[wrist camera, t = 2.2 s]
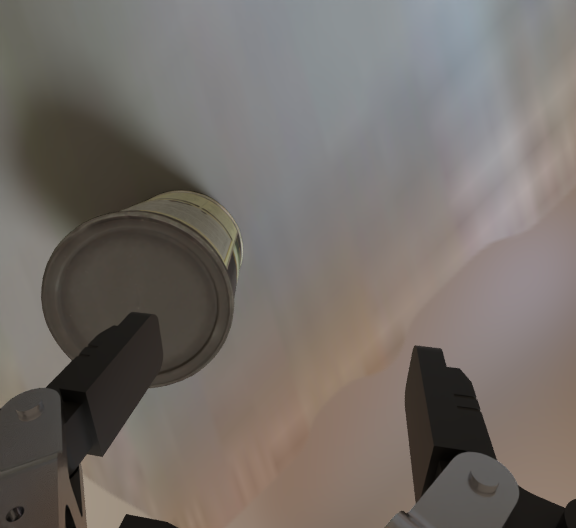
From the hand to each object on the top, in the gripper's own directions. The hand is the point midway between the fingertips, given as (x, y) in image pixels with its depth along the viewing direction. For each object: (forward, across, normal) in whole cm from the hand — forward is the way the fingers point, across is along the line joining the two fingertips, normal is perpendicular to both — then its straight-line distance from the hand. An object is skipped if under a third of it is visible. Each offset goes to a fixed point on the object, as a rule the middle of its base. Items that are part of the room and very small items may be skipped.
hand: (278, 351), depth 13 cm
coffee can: (+21, +12, +7) cm, 25 cm away
